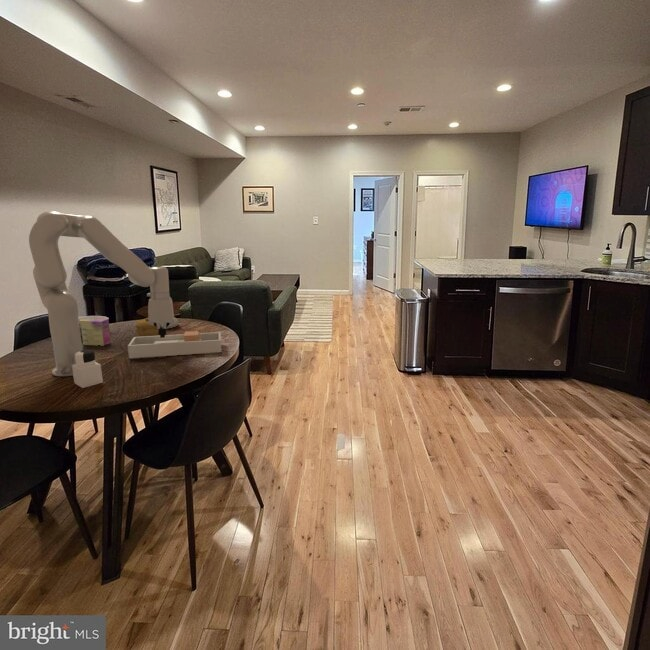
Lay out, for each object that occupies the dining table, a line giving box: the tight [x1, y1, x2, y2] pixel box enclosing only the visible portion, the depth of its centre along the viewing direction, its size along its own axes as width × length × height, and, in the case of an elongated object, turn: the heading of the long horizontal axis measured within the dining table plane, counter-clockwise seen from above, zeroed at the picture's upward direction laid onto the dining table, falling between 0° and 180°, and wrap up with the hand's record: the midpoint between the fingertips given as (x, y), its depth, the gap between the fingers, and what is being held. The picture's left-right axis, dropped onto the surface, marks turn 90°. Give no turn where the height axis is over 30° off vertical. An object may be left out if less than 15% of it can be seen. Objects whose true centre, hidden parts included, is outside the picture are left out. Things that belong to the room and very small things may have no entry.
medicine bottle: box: [72, 349, 104, 389], centre depth 151 cm, size 7×7×12 cm
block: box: [183, 330, 200, 342], centre depth 189 cm, size 7×6×4 cm
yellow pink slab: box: [78, 315, 110, 336], centre depth 214 cm, size 25×23×8 cm
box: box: [80, 318, 112, 347], centre depth 198 cm, size 10×6×12 cm, turn 84°
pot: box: [135, 317, 159, 337], centre depth 210 cm, size 12×12×10 cm
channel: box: [127, 331, 223, 360], centre depth 188 cm, size 14×38×6 cm, turn 104°
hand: (162, 336), depth 185 cm, fingers closed
